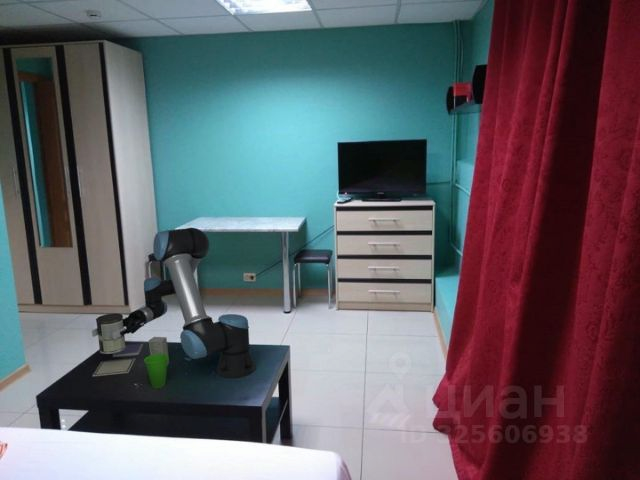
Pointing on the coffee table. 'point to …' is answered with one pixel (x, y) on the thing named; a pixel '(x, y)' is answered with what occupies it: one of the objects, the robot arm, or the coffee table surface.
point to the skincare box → (158, 346)
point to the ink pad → (129, 350)
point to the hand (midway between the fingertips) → (103, 335)
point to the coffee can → (110, 333)
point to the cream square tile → (114, 367)
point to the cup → (157, 369)
